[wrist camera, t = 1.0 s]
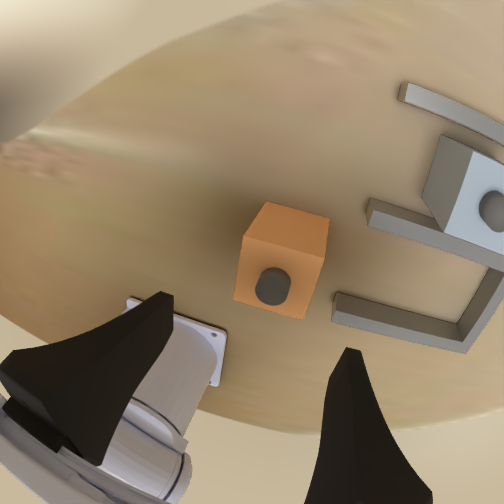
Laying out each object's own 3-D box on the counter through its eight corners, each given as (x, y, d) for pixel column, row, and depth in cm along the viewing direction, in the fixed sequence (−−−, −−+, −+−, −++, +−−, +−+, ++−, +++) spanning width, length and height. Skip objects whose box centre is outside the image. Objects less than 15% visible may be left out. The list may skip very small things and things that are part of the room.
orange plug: (255, 255, 22) (226, 310, 17) (266, 201, 20) (237, 245, 14) (313, 272, 21) (300, 332, 16) (329, 218, 19) (323, 269, 14)
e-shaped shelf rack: (332, 303, 22) (330, 321, 20) (401, 83, 14) (408, 82, 12) (460, 336, 20) (465, 354, 18) (546, 154, 12) (562, 162, 11)
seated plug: (421, 197, 17) (449, 242, 12) (440, 134, 15) (482, 155, 10) (473, 217, 16) (512, 266, 11) (494, 158, 14) (545, 190, 9)
